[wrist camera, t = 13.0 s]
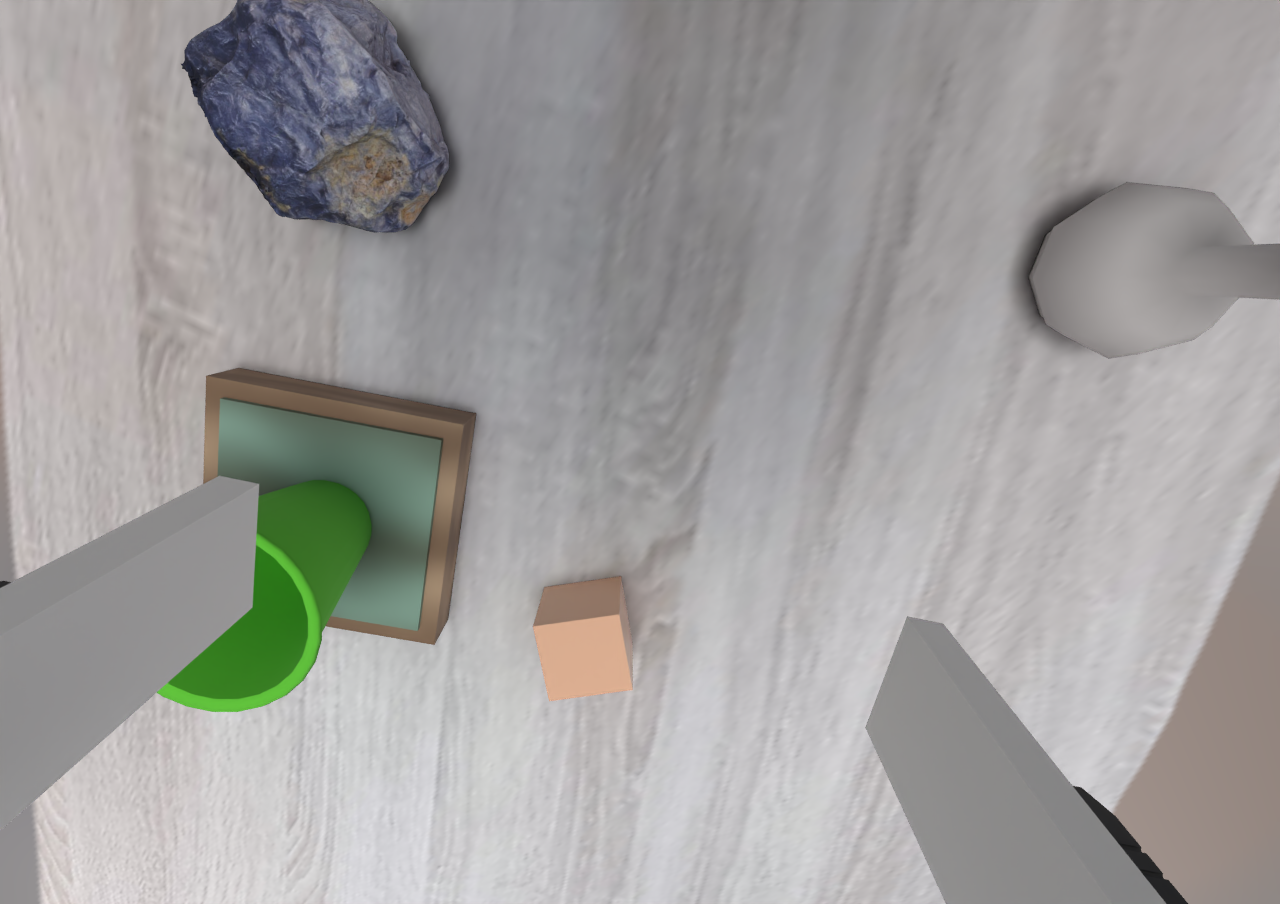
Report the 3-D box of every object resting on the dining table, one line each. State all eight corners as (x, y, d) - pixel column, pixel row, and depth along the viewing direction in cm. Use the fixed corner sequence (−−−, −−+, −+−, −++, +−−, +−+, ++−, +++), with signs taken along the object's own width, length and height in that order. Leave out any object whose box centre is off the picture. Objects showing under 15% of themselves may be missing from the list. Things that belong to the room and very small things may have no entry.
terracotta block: (544, 586, 43) (532, 626, 38) (621, 575, 43) (619, 614, 38) (558, 654, 44) (549, 701, 39) (632, 643, 44) (632, 689, 39)
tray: (238, 367, 39) (201, 377, 36) (476, 413, 40) (461, 426, 36) (229, 581, 42) (195, 608, 39) (447, 619, 43) (432, 648, 40)
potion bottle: (1200, 249, 37) (1688, 232, 20) (1087, 378, 39) (1443, 463, 22) (1090, 153, 36) (1511, 44, 19) (978, 290, 38) (1266, 308, 21)
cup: (348, 621, 39) (242, 750, 29) (216, 526, 38) (53, 627, 27) (440, 515, 38) (363, 611, 27) (306, 411, 36) (169, 470, 25)
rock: (161, 87, 33) (135, 9, 24) (347, 10, 36) (381, -82, 28) (304, 284, 37) (324, 276, 29) (456, 199, 41) (514, 170, 32)
